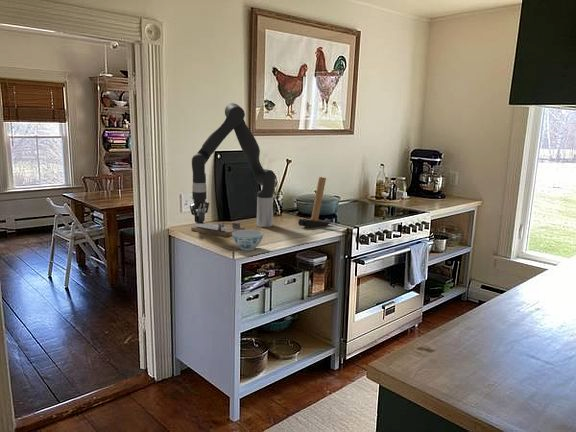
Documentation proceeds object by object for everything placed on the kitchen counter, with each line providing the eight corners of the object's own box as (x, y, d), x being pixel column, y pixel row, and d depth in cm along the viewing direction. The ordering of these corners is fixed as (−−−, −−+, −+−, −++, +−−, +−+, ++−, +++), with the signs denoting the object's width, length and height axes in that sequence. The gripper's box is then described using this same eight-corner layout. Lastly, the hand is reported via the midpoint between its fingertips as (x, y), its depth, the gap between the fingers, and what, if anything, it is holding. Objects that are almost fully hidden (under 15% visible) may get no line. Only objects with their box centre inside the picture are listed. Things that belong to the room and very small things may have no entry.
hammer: (324, 228, 277) (333, 179, 275) (329, 229, 273) (338, 180, 271) (297, 225, 266) (307, 174, 264) (302, 226, 262) (312, 175, 259)
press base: (211, 225, 265) (211, 217, 265) (244, 231, 254) (244, 222, 253) (191, 230, 251) (191, 221, 250) (225, 236, 239) (225, 227, 238)
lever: (226, 229, 244) (226, 215, 242) (221, 231, 241) (221, 216, 239) (199, 225, 253) (199, 211, 252) (194, 226, 250) (194, 212, 248)
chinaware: (243, 243, 227) (243, 228, 226) (269, 247, 220) (269, 232, 219) (225, 249, 214) (225, 233, 213) (252, 254, 207) (252, 238, 206)
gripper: (195, 192, 239) (196, 224, 242) (213, 190, 251) (213, 220, 254) (185, 191, 243) (185, 222, 246) (202, 188, 255) (203, 218, 258)
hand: (199, 221), depth 250 cm, fingers closed on lever, 4 cm apart
